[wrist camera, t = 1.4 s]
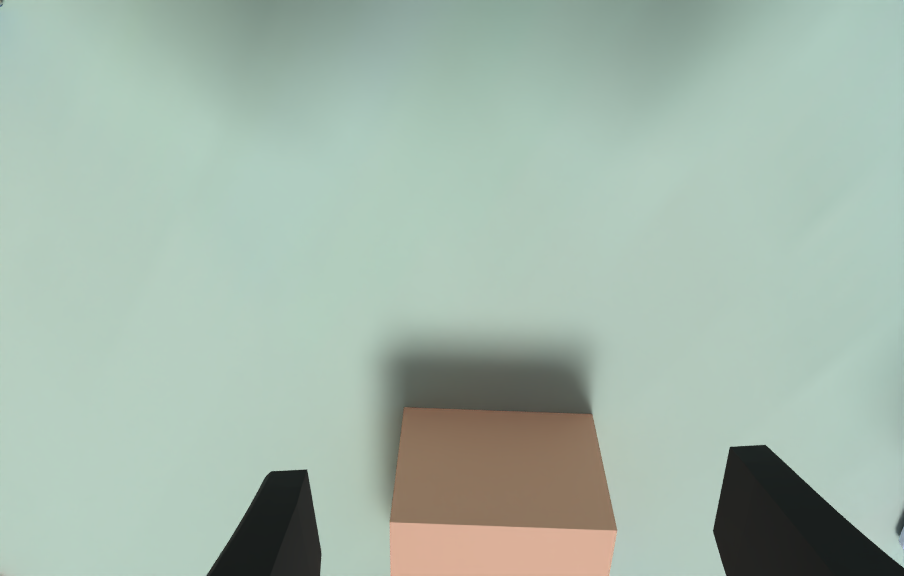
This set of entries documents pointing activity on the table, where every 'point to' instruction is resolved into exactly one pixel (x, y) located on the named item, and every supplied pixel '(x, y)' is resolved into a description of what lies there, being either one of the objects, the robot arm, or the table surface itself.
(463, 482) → the terracotta block
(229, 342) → the table surface
